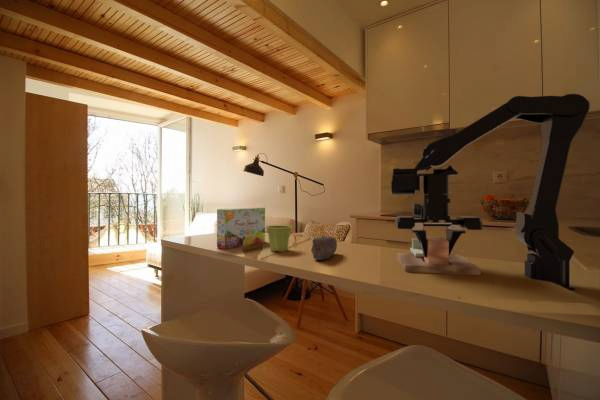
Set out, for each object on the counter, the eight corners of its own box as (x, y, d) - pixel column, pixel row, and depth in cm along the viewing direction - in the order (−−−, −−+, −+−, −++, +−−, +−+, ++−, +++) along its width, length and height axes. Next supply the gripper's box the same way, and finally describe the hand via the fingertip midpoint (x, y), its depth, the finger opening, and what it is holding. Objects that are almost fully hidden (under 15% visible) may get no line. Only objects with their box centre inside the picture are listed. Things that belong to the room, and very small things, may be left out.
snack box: (225, 249, 105) (225, 209, 104) (216, 248, 108) (215, 208, 108) (266, 241, 121) (265, 206, 121) (256, 240, 125) (256, 206, 125)
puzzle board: (458, 265, 77) (458, 254, 77) (480, 281, 63) (480, 268, 63) (397, 263, 80) (397, 253, 80) (405, 277, 67) (405, 265, 67)
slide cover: (440, 251, 81) (439, 239, 81) (448, 257, 73) (448, 243, 73) (410, 250, 82) (410, 238, 82) (415, 256, 75) (415, 243, 75)
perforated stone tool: (328, 252, 97) (328, 232, 97) (342, 254, 95) (342, 233, 95) (307, 261, 85) (306, 238, 84) (322, 263, 82) (322, 239, 82)
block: (443, 265, 72) (443, 238, 72) (448, 270, 67) (448, 241, 67) (424, 265, 73) (424, 237, 72) (428, 269, 68) (428, 240, 68)
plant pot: (282, 246, 109) (281, 224, 109) (297, 250, 102) (297, 226, 101) (261, 250, 103) (260, 226, 103) (276, 254, 96) (275, 228, 95)
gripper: (465, 194, 76) (465, 252, 76) (392, 194, 79) (392, 250, 80) (483, 193, 65) (483, 261, 65) (397, 194, 69) (398, 259, 69)
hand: (436, 257), depth 70 cm, fingers closed on block, 4 cm apart
